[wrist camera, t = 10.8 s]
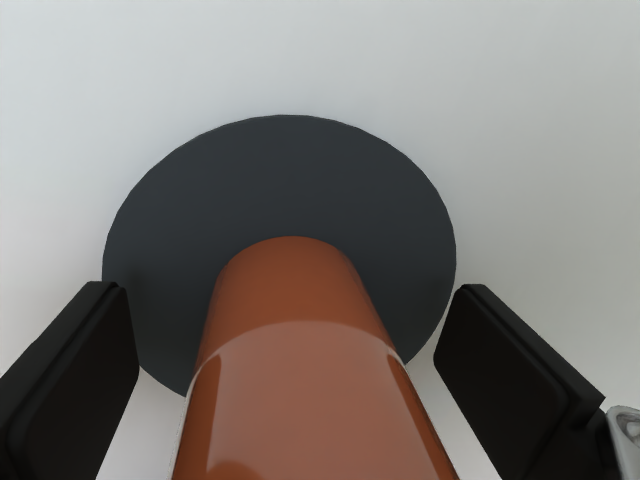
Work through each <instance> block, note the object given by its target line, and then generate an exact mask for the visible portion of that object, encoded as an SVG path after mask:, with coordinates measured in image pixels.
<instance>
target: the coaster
mask: <svg viewBox="0 0 640 480" xmlns="http://www.w3.org/2000/svg"><path fill="white" fill-rule="evenodd" d="M282 236H302V237H309V238H313V239H317V240H320V241H323V242H326V243H328V244H330V245H332V246H334V247H335V248H337V249H338V250H340V251H341V252H342V253H343V254H345V255H346V256H347V257H348V258H349V259H350V261H351V262H352V263H353V264H354V266H355V268H356V269H357V271H358V273H359V275H360V277H361V279H362V281H363V283H364V285H365V287H366V289H367V291H368V293H369V295H370V297H371V299H372V301H373V303H374V305H375V307H376V309H377V311H378V313H379V315H380V317H381V319H382V321H383V323H384V325H385V327H386V329H387V331H388V333H389V335H390V337H391V339H392V341H393V343H394V345H395V348H396V350H397V352H398V354H399V356H400V358H401V360H402V362H403V364H404V366H405V365H406V364H407V363H408V362H409V361H410V360H411V359H412V358H413V357H414V356H415V355H416V354H417V353H418V352H419V350H420V349H421V348H422V347H423V346H424V345H425V343H426V342H427V341H428V339H429V338H430V336H431V335H432V334H433V332H434V331H435V329H436V327H437V325H438V324H439V322H440V320H441V318H442V316H443V314H444V312H445V309H446V307H447V304H448V302H449V299H450V296H451V292H452V288H453V284H454V279H455V270H456V244H455V238H454V233H453V227H452V224H451V221H450V218H449V215H448V212H447V209H446V207H445V205H444V203H443V201H442V199H441V197H440V196H439V194H438V192H437V190H436V188H435V187H434V186H433V184H432V183H431V182H430V180H429V179H428V178H427V177H426V175H425V174H424V173H423V171H422V170H421V169H419V168H418V167H417V166H416V165H415V164H414V163H413V162H412V161H411V160H410V159H409V158H408V157H407V156H406V155H404V154H403V153H401V152H400V151H399V150H397V149H396V148H394V147H393V146H391V145H390V144H389V143H387V142H385V141H383V140H381V139H379V138H377V137H375V136H373V135H371V134H369V133H367V132H365V131H363V130H361V129H359V128H356V127H353V126H350V125H347V124H344V123H341V122H338V121H335V120H330V119H324V118H318V117H313V116H303V115H273V116H264V117H255V118H249V119H245V120H241V121H238V122H234V123H230V124H226V125H223V126H220V127H218V128H216V129H213V130H211V131H208V132H206V133H203V134H201V135H199V136H197V137H195V138H194V139H192V140H190V141H189V142H187V143H185V144H183V145H182V146H180V147H178V148H177V149H175V150H174V151H173V152H171V153H170V154H169V155H168V156H166V157H165V158H164V159H163V160H161V161H160V162H159V163H158V164H157V165H155V166H154V167H153V168H152V169H150V170H149V171H148V172H147V173H146V175H145V176H144V177H143V178H142V179H141V180H140V181H139V182H138V184H137V185H136V186H135V187H134V188H133V189H132V190H131V192H130V193H129V195H128V196H127V198H126V199H125V201H124V203H123V204H122V206H121V207H120V209H119V210H118V212H117V214H116V217H115V219H114V222H113V224H112V226H111V229H110V231H109V233H108V237H107V241H106V246H105V250H104V254H103V265H102V281H115V282H117V284H118V285H119V287H124V288H125V289H126V292H127V297H128V303H129V309H130V314H131V320H132V326H133V332H134V337H135V343H136V349H137V355H138V360H139V365H140V366H141V367H142V368H143V369H144V370H145V371H146V372H147V373H149V374H150V375H151V376H152V377H153V378H155V379H156V380H157V381H158V382H160V383H161V384H163V385H164V386H166V387H168V388H169V389H171V390H172V391H174V392H175V393H178V394H180V395H182V396H184V397H186V396H187V392H188V388H189V383H190V379H191V375H192V371H193V367H194V363H195V359H196V355H197V351H198V347H199V342H200V338H201V334H202V330H203V326H204V322H205V318H206V314H207V310H208V306H209V301H210V297H211V293H212V289H213V286H214V283H215V281H216V279H217V277H218V275H219V273H220V272H221V270H222V269H223V268H224V266H225V265H226V264H227V263H228V262H229V261H230V260H231V259H232V258H233V257H234V256H235V255H237V254H238V253H240V252H241V251H242V250H244V249H246V248H248V247H249V246H251V245H253V244H256V243H258V242H261V241H263V240H267V239H271V238H275V237H282Z"/></svg>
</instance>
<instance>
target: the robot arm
mask: <svg viewBox="0 0 640 480" xmlns="http://www.w3.org/2000/svg"><path fill="white" fill-rule="evenodd" d="M433 362H434V366H435V368H436V370H437V371H438V373H439V375H440V376H441V378H442V380H443V381H444V383H445V385H446V386H447V388H448V390H449V391H450V393H451V395H452V397H453V398H454V400H455V402H456V403H457V405H458V407H459V408H460V410H461V412H462V413H463V415H464V417H465V418H466V420H467V422H468V423H469V425H470V427H471V429H472V430H473V432H474V434H475V435H476V437H477V439H478V440H479V442H480V444H481V445H482V447H483V449H484V450H485V452H486V454H487V455H488V457H489V459H490V460H491V462H492V464H493V466H494V467H495V469H496V471H497V472H498V474H499V476H500V477H501V479H502V480H640V410H637V409H634V408H631V407H627V406H619V405H618V406H613V407H611V408H610V409H609V410H608V411H607V413H606V414H605V413H604V412H603V411H602V410H601V409H600V408H599V407H600V405H601V404H602V402H603V401H604V399H605V398H606V397H605V396H604V395H603V394H602V393H600V392H599V391H598V390H597V389H596V388H595V387H594V386H593V385H592V384H591V383H590V382H589V381H588V380H586V379H585V378H584V377H583V376H582V375H581V374H580V373H579V372H578V371H577V370H576V369H575V368H574V367H573V366H571V365H570V364H569V363H568V362H567V361H566V360H565V359H564V358H563V357H562V356H561V355H560V354H559V353H557V352H556V351H555V350H554V349H553V348H552V347H551V346H550V345H549V344H548V343H547V342H546V341H545V340H543V339H542V338H541V337H540V336H539V335H538V334H537V333H536V332H535V331H534V330H533V329H532V328H531V327H529V326H528V325H527V324H526V323H525V322H524V321H523V320H522V319H521V318H520V317H519V316H518V315H517V314H515V313H514V312H513V311H512V310H511V309H510V308H509V307H508V306H507V305H506V304H505V303H504V302H503V301H501V300H500V299H499V298H498V297H497V296H496V295H495V294H494V293H493V292H492V291H491V290H490V289H489V288H487V287H486V286H485V285H482V284H464V285H462V286H461V287H460V289H457V290H456V291H455V294H454V296H453V299H452V302H451V305H450V308H449V311H448V314H447V317H446V320H445V323H444V326H443V329H442V332H441V335H440V338H439V340H438V343H437V346H436V349H435V352H434V356H433ZM138 376H139V360H138V355H137V349H136V343H135V337H134V332H133V326H132V320H131V314H130V309H129V303H128V297H127V292H126V289H125V288H124V287H119V285H118V284H117V282H115V281H90V282H87V283H86V284H85V285H84V286H83V287H82V288H81V290H80V291H79V292H78V293H77V294H76V295H75V296H74V298H73V299H72V300H71V301H70V302H69V303H68V304H67V306H66V307H65V308H64V309H63V310H62V311H61V312H60V313H59V315H58V316H57V317H56V318H55V319H54V320H53V321H52V323H51V324H50V325H49V326H48V327H47V328H46V329H45V331H44V332H43V333H42V334H41V335H40V336H39V337H38V338H37V339H36V340H35V341H34V342H33V343H32V344H31V345H30V346H29V347H28V348H27V349H26V350H25V351H24V352H23V354H22V355H21V356H20V357H19V358H18V359H17V360H16V361H15V363H14V364H13V365H12V366H11V367H10V368H9V369H8V371H7V372H6V373H5V374H4V375H3V376H2V377H1V378H0V480H95V479H96V477H97V474H98V472H99V469H100V467H101V465H102V462H103V460H104V458H105V455H106V453H107V451H108V448H109V446H110V444H111V441H112V439H113V437H114V434H115V432H116V429H117V427H118V425H119V422H120V420H121V418H122V415H123V413H124V411H125V408H126V406H127V404H128V401H129V399H130V397H131V394H132V392H133V389H134V387H135V385H136V382H137V380H138Z"/></svg>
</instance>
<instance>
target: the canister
mask: <svg viewBox="0 0 640 480" xmlns="http://www.w3.org/2000/svg"><path fill="white" fill-rule="evenodd" d="M166 480H461V478H460V476H459V474H458V472H457V470H456V468H455V466H454V464H453V462H452V460H451V458H450V456H449V454H448V452H447V450H446V448H445V446H444V444H443V442H442V440H441V438H440V436H439V434H438V432H437V430H436V428H435V426H434V424H433V422H432V420H431V418H430V416H429V414H428V412H427V410H426V408H425V406H424V404H423V402H422V400H421V398H420V396H419V394H418V392H417V390H416V388H415V386H414V384H413V382H412V380H411V378H410V376H409V374H408V372H407V370H406V368H405V366H404V364H403V362H402V360H401V358H400V356H399V354H398V352H397V350H396V348H395V345H394V343H393V341H392V339H391V337H390V335H389V333H388V331H387V329H386V327H385V325H384V323H383V321H382V319H381V317H380V315H379V313H378V311H377V309H376V307H375V305H374V303H373V301H372V299H371V297H370V295H369V293H368V291H367V289H366V287H365V285H364V283H363V281H362V279H361V277H360V275H359V273H358V271H357V269H356V268H355V266H354V264H353V263H352V262H351V261H350V259H349V258H348V257H347V256H346V255H345V254H343V253H342V252H341V251H340V250H338V249H337V248H335V247H334V246H332V245H330V244H328V243H326V242H323V241H320V240H317V239H313V238H309V237H302V236H282V237H275V238H271V239H267V240H263V241H261V242H258V243H256V244H253V245H251V246H249V247H248V248H246V249H244V250H242V251H241V252H240V253H238V254H237V255H235V256H234V257H233V258H232V259H231V260H230V261H229V262H228V263H227V264H226V265H225V266H224V268H223V269H222V270H221V272H220V273H219V275H218V277H217V279H216V281H215V283H214V286H213V289H212V293H211V297H210V301H209V306H208V310H207V314H206V318H205V322H204V326H203V330H202V334H201V338H200V342H199V347H198V351H197V355H196V359H195V363H194V367H193V371H192V375H191V379H190V383H189V388H188V392H187V396H186V400H185V404H184V408H183V412H182V416H181V420H180V424H179V428H178V433H177V437H176V441H175V445H174V449H173V453H172V457H171V461H170V465H169V469H168V474H167V478H166Z"/></svg>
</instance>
